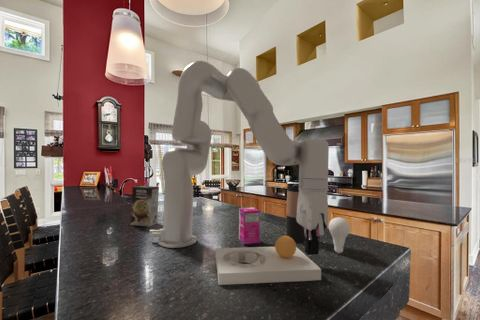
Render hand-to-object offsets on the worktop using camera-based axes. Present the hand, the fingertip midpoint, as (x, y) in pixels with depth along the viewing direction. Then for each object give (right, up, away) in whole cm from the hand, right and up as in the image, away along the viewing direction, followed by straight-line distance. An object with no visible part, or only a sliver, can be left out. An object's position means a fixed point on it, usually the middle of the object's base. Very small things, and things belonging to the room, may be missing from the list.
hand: (311, 253), depth 64 cm
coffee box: (-60, -3, +38) cm, 71 cm away
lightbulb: (+11, -4, +10) cm, 15 cm away
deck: (-13, -3, -2) cm, 14 cm away
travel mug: (+1, -4, +22) cm, 23 cm away
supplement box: (-16, -3, +18) cm, 24 cm away
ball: (-7, +2, -1) cm, 8 cm away
